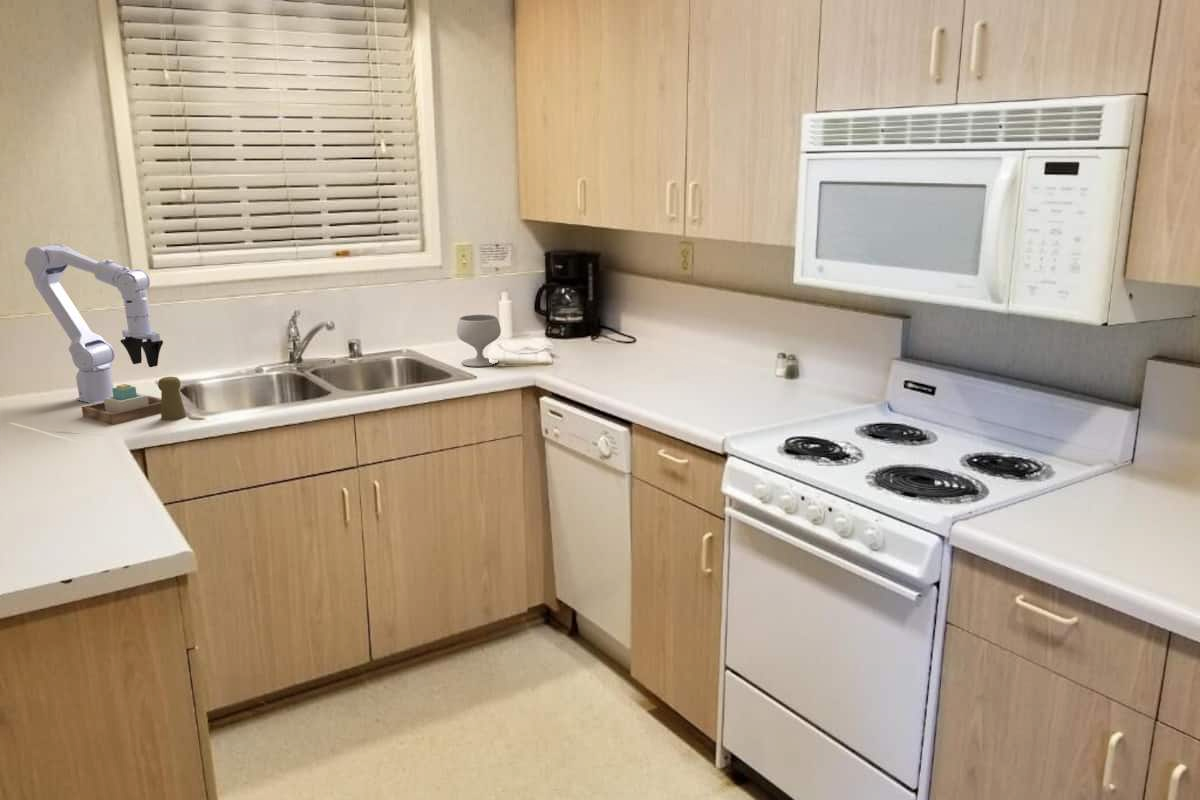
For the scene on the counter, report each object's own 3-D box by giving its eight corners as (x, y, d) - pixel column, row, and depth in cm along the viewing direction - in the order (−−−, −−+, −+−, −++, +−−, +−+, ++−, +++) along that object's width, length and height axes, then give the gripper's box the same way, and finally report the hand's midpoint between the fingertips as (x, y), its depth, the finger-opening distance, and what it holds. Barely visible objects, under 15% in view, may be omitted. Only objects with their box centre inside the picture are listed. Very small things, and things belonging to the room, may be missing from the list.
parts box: (83, 418, 239) (81, 407, 238) (141, 404, 252) (140, 393, 251) (113, 426, 232) (111, 414, 231) (172, 411, 245) (170, 400, 244)
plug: (116, 414, 241) (111, 386, 239) (130, 410, 244) (126, 383, 242) (124, 416, 239) (120, 388, 237) (139, 412, 242) (135, 384, 240)
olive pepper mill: (191, 415, 240) (186, 374, 238) (178, 422, 235) (173, 380, 232) (169, 415, 241) (163, 374, 238) (156, 421, 235) (150, 380, 232)
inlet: (106, 414, 241) (103, 398, 240) (133, 408, 247) (131, 392, 246) (122, 418, 237) (119, 401, 236) (149, 412, 243) (147, 395, 242)
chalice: (452, 361, 301) (450, 316, 297) (492, 357, 307) (490, 312, 303) (467, 370, 289) (465, 322, 285) (508, 365, 295) (506, 318, 291)
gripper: (108, 315, 250) (116, 364, 253) (139, 320, 242) (146, 370, 245) (133, 312, 255) (140, 360, 259) (164, 316, 248) (171, 365, 251)
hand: (145, 364), depth 252 cm, fingers open, 7 cm apart
